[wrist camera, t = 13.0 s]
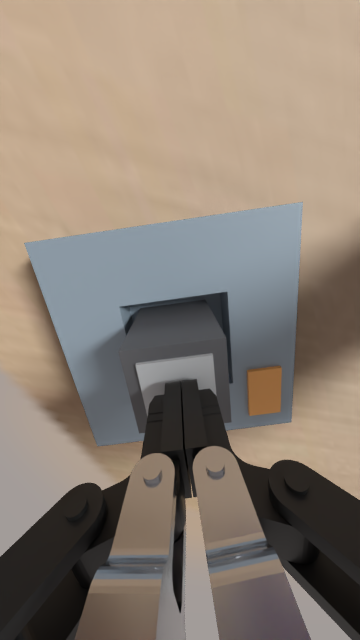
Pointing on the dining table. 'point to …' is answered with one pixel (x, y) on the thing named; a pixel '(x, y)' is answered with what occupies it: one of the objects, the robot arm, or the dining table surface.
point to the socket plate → (177, 287)
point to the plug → (174, 355)
